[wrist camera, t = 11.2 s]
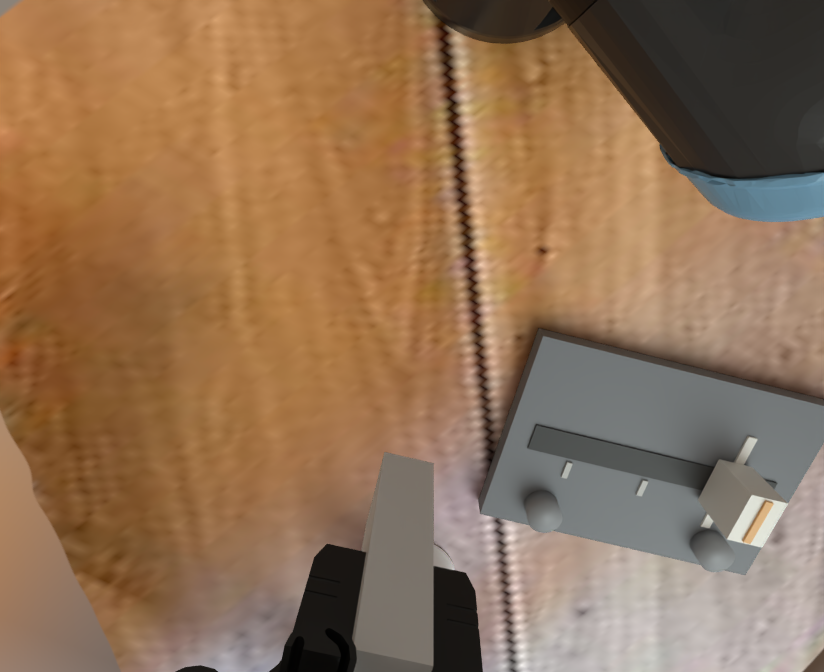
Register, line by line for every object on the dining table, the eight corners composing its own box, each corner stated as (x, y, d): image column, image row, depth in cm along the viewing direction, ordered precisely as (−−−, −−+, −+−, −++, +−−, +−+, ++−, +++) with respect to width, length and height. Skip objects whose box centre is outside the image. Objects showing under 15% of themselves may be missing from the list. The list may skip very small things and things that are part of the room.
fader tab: (719, 459, 46) (753, 496, 41) (751, 467, 46) (789, 505, 41) (697, 500, 47) (728, 541, 42) (729, 507, 47) (763, 549, 43)
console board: (538, 328, 45) (548, 344, 41) (826, 399, 46) (861, 422, 42) (478, 500, 51) (482, 528, 47) (733, 559, 52) (757, 591, 48)
